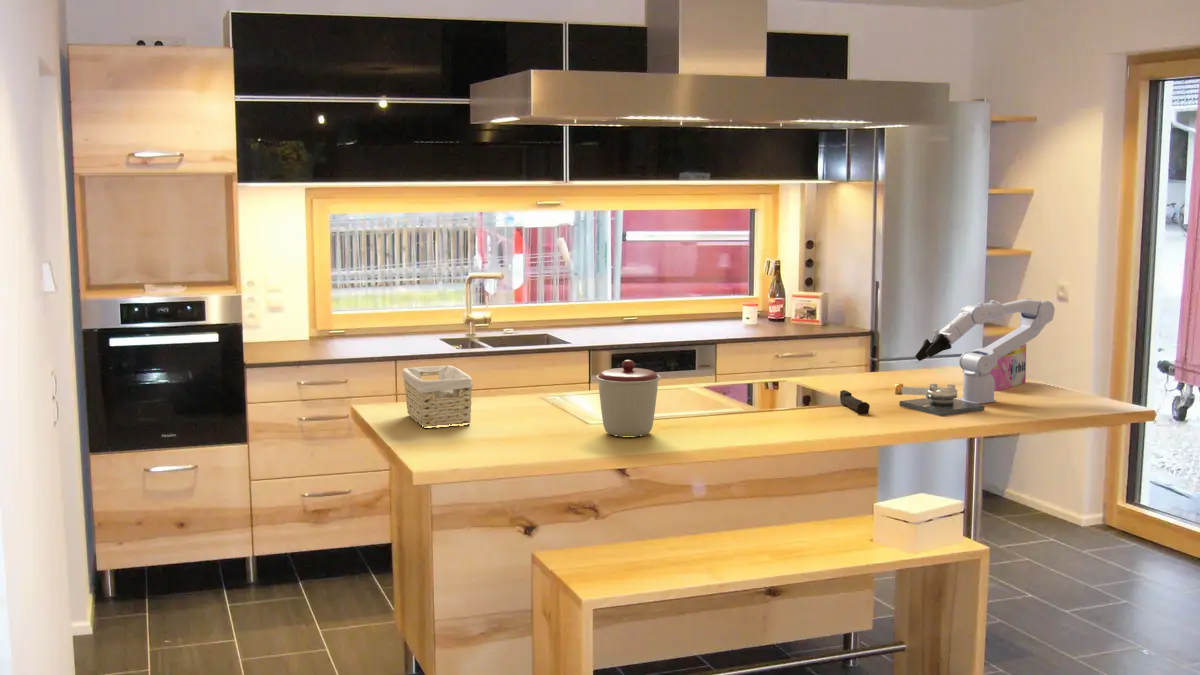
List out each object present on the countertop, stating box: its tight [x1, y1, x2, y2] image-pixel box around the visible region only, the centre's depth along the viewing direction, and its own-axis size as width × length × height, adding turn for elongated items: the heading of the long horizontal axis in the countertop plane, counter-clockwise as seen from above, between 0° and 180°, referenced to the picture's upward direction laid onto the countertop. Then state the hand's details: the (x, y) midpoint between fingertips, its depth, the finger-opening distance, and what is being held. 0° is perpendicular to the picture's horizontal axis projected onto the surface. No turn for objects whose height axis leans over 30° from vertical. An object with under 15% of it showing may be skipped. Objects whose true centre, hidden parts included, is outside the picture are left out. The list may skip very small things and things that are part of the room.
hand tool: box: [839, 389, 871, 415], centre depth 364 cm, size 19×4×5 cm, turn 7°
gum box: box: [989, 343, 1027, 392], centre depth 403 cm, size 24×8×14 cm, turn 137°
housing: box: [898, 397, 986, 417], centre depth 364 cm, size 18×18×4 cm
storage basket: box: [402, 364, 474, 428], centre depth 345 cm, size 24×16×15 cm
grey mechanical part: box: [894, 383, 958, 399], centre depth 365 cm, size 19×9×4 cm, turn 73°
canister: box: [595, 359, 662, 437], centre depth 327 cm, size 18×18×21 cm
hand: (922, 356), depth 365 cm, fingers open, 7 cm apart
